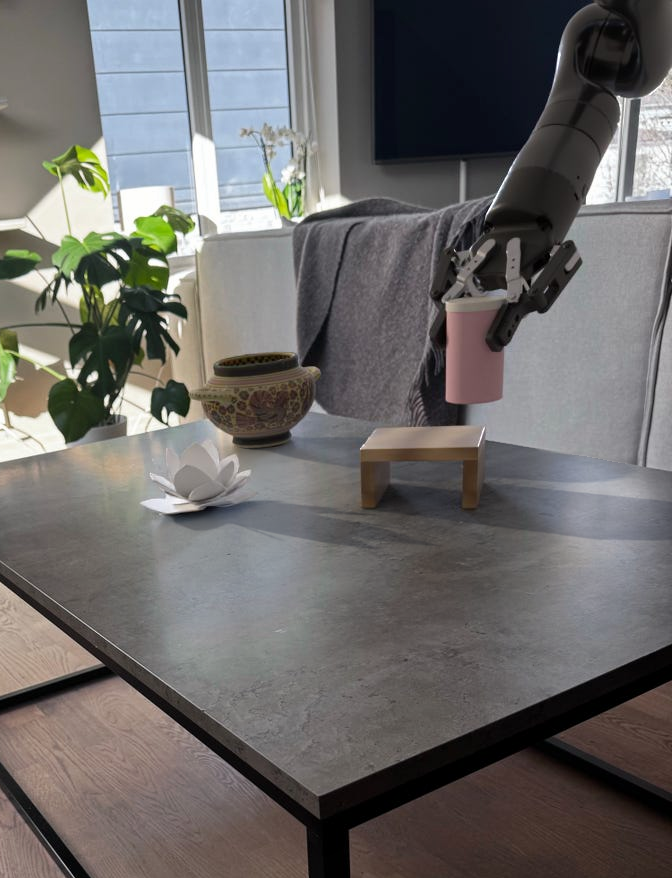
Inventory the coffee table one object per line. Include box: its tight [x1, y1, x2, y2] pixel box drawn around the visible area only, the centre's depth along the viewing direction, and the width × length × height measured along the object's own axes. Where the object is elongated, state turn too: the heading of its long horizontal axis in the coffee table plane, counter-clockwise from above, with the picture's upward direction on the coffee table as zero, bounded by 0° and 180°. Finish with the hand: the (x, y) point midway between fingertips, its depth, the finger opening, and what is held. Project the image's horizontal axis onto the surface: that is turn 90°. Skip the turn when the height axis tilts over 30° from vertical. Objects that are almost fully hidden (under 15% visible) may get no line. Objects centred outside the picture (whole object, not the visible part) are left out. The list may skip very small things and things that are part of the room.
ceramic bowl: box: [188, 351, 322, 449], centre depth 142 cm, size 24×18×15 cm
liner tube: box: [445, 294, 508, 405], centre depth 86 cm, size 5×5×9 cm
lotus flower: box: [140, 437, 260, 516], centre depth 114 cm, size 14×15×9 cm
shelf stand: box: [359, 424, 487, 510], centre depth 108 cm, size 13×11×7 cm
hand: (464, 345), depth 84 cm, fingers closed on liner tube, 5 cm apart
